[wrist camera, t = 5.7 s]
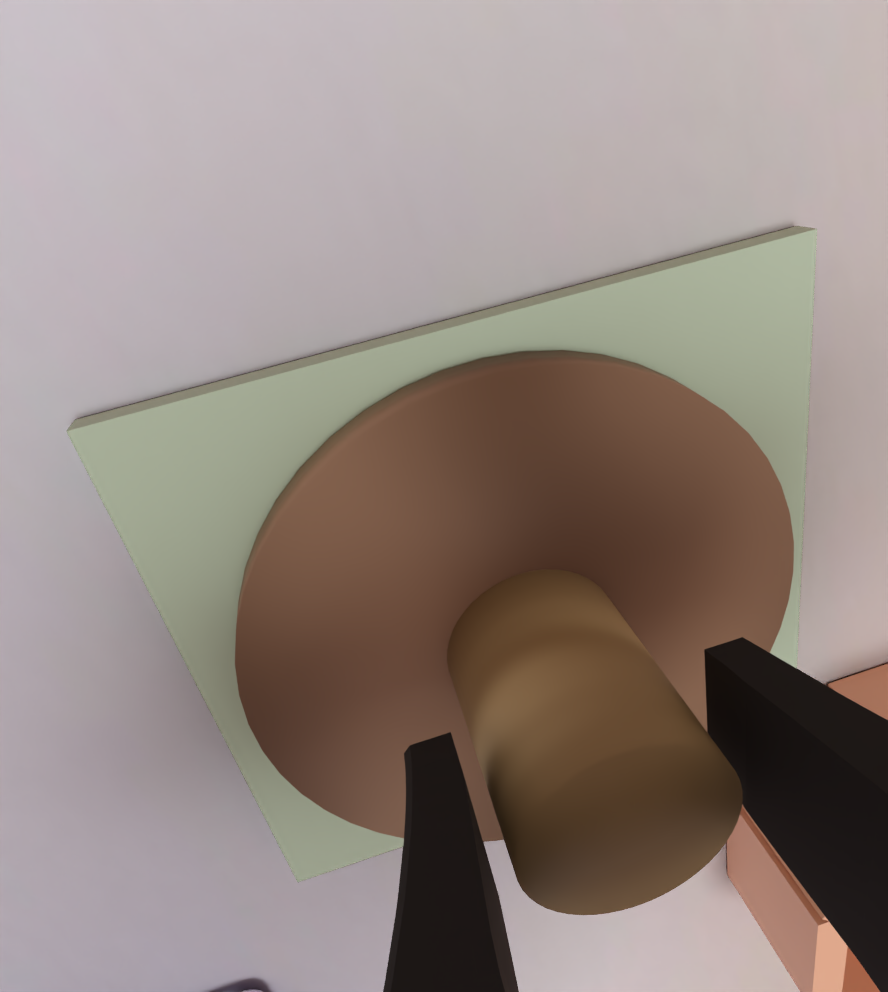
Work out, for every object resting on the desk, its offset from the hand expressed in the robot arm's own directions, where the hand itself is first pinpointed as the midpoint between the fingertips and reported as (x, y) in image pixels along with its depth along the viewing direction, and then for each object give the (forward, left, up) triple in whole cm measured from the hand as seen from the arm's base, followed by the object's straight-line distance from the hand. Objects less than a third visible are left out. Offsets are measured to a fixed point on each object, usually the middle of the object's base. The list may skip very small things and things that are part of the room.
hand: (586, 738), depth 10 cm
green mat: (0, 0, -4) cm, 4 cm away
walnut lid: (0, 0, -3) cm, 3 cm away
